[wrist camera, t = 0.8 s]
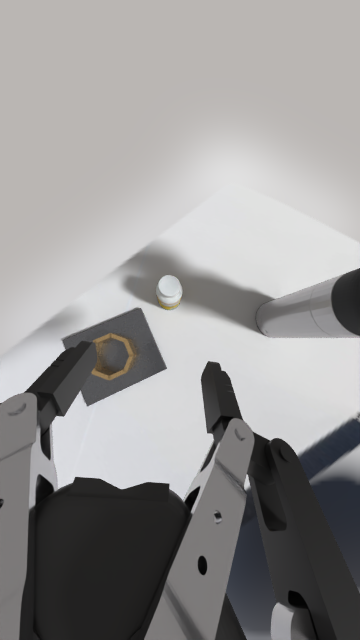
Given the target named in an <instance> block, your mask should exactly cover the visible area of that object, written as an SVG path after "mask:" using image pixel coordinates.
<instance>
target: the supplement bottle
mask: <svg viewBox="0 0 360 640" xmlns="http://www.w3.org/2000/svg"><path fill="white" fill-rule="evenodd" d="M182 293H183V289H182V286H181V284H180V282H179V280H178V279H177V278H176V277H175V276H172V275H166V276H163V277H162V278H161V279H160V281H159V283H158V284H157V287H156V295H157V298H158V302H159V304H160V306H161V307H162V308H163V309H166V310H173V309H175V308H177V307H178V305H179V304H180V300H181V297H182Z"/></svg>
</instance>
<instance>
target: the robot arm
mask: <svg viewBox="0 0 360 640" xmlns="http://www.w3.org/2000/svg"><path fill="white" fill-rule="evenodd" d="M256 322H257V325H258V328H259V329H260V331H261V332H262V333H263V334H265V335H266V336H268V337H271V338H360V268H359V269H356V270H354V271H351V272H348V273H346V274H343V275H340V276H338V277H335V278H332V279H329V280H327V281H324V282H322V283H319V284H316V285H313V286H311V287H308V288H305V289H303V290H300V291H297V292H294V293H292V294H289V295H286V296H283V297H281V298H278V299H275V300H272V301H270V302H267V303H265V304H263V305H262V306H261V307H260V308H259V309H258V311H257V314H256ZM96 363H97V350H96V344H95V342H89V341H81V342H80V343H79V344H78V345H77V346H76V347H70V348H69V349H67V350H65V351H64V352H62V353H61V354H60V355H59V357H58V358H57V359H56V361H54V362H53V363H52V364H51V366H49V367H48V368H47V369H46V370H45V371H44V372H43V373H42V375H41V376H40V377H39V378H38V379H37V380H36V381H35V382H34V383H33V384H32V385H31V386H30V387H29V388H28V389H27V390H26V391H25V392H24V393H21V394H18V395H15V396H13V397H11V398H9V399H7V400H6V401H4V402H3V403H0V640H247V639H246V637H245V635H244V632H243V630H242V628H241V626H240V623H239V621H238V619H237V617H236V614H235V612H234V610H233V607H232V605H231V603H230V601H229V599H228V596H227V594H226V587H227V583H228V578H229V574H230V569H231V565H232V561H233V556H234V552H235V547H236V543H237V538H238V534H239V530H240V525H241V521H242V516H243V512H244V507H245V503H246V491H245V490H244V482H245V478H246V474H248V477H249V481H250V486H251V490H252V495H253V499H254V504H255V508H256V513H257V517H258V521H259V526H260V530H261V535H262V539H263V544H264V548H265V553H266V557H267V562H268V566H269V571H270V575H271V579H272V584H273V589H274V593H275V598H276V602H277V604H276V605H275V607H274V609H273V613H272V621H271V622H272V623H271V637H272V640H360V593H359V591H358V589H357V586H356V584H355V582H354V580H353V578H352V575H351V573H350V571H349V569H348V567H347V564H346V562H345V560H344V558H343V556H342V553H341V551H340V549H339V547H338V545H337V542H336V541H335V538H334V536H333V534H332V531H331V529H330V527H329V525H328V523H327V521H326V518H325V516H324V514H323V512H322V509H321V507H320V505H319V503H318V501H317V499H316V496H315V494H314V492H313V490H312V488H311V485H310V483H309V481H308V479H307V477H306V474H305V472H304V470H303V468H302V466H301V463H300V461H299V459H298V457H297V455H296V453H295V452H294V450H293V449H292V448H291V447H290V445H288V444H287V443H286V442H285V441H283V440H281V439H279V438H274V439H273V440H271V441H270V440H268V439H266V438H264V437H262V436H260V435H258V434H256V433H254V432H253V431H252V430H251V428H250V427H249V426H248V425H247V423H245V422H244V421H243V419H242V416H241V413H240V410H239V406H238V403H237V400H236V397H235V393H234V390H233V387H232V384H231V380H230V378H229V376H228V375H227V373H226V372H225V371H221V367H220V364H219V363H217V362H210V361H208V363H207V365H206V367H205V369H204V371H203V373H202V377H201V384H202V393H203V401H204V410H205V418H206V427H207V433H211V434H213V438H214V440H213V442H212V444H211V446H210V448H209V450H208V452H207V455H206V457H205V459H204V461H203V463H202V465H201V467H200V469H199V471H198V473H197V475H196V477H195V478H194V480H193V481H192V483H191V485H190V487H189V489H188V491H187V493H186V495H185V497H184V499H183V500H182V499H181V498H180V497H179V496H178V495H177V494H176V493H175V492H173V491H172V490H170V489H169V484H166V483H152V482H146V483H143V484H140V485H136V486H133V487H130V488H127V489H119V488H117V487H115V486H113V485H111V484H109V483H107V482H105V481H103V480H101V479H96V478H82V477H75V479H74V482H73V483H71V484H69V485H66V486H64V487H62V488H60V489H58V481H57V472H56V468H55V464H54V456H53V436H52V421H53V420H54V418H55V417H56V416H63V417H64V416H65V414H66V412H67V411H68V409H69V408H70V406H71V404H72V403H73V401H74V399H75V398H76V396H77V395H78V393H79V391H80V390H81V388H82V387H83V385H84V383H85V382H86V380H87V378H88V377H89V375H90V374H91V372H92V370H93V369H94V367H95V365H96Z"/></svg>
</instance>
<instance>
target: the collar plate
mask: <svg viewBox="0 0 360 640" xmlns="http://www.w3.org/2000/svg"><path fill="white" fill-rule="evenodd" d="M81 341H89V342H95V344H96V350H97V363H96V365H95V367H94V369H93V370H92V372H91V374H90V375H89V377H88V378H87V380H86V382H85V383H84V385H83V387H82V388H81V391H82V393H83V396H84V399H85V402H86V404H87V406H89V405H91V404H93V403H95V402H98V401H100V400H102V399H104V398H106V397H108V396H110V395H112V394H114V393H116V392H119V391H121V390H123V389H125V388H127V387H129V386H131V385H133V384H135V383H138V382H140V381H142V380H144V379H146V378H148V377H150V376H152V375H154V374H157V373H159V372H161V371H163V370H165V369H167V367H166V365H165V363H164V360H163V358H162V356H161V353H160V351H159V349H158V346H157V344H156V342H155V339H154V337H153V335H152V332H151V330H150V328H149V325H148V323H147V321H146V318H145V316H144V313H143V311H142V309H141V308H140V309H137V310H135V311H132V312H130V313H128V314H125V315H123V316H120V317H118V318H115V319H113V320H111V321H108V322H106V323H103V324H101V325H99V326H96V327H94V328H91V329H89V330H86V331H84V332H82V333H79V334H77V335H74V336H72V337H69V338H67V339H65V340H63V342H64V345H65V347H66V350H67V349H69V348H70V347H76V346H77V345H78V344H79V343H80V342H81Z"/></svg>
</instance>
